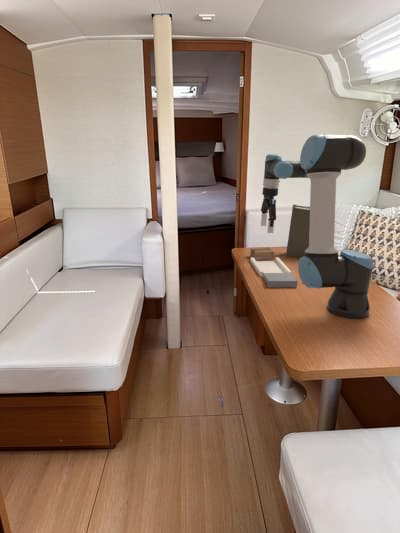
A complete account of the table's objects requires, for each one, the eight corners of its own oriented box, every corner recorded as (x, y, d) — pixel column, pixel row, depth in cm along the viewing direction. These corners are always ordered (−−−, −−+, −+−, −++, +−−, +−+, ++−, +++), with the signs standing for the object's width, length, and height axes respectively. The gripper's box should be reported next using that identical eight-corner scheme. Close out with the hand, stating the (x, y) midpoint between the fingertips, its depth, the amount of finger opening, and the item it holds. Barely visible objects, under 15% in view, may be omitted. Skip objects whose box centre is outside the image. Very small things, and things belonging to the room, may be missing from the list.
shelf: (291, 278, 173) (291, 272, 172) (259, 278, 172) (260, 272, 171) (277, 262, 194) (278, 257, 193) (250, 262, 193) (250, 257, 192)
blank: (272, 262, 195) (273, 251, 193) (254, 263, 193) (255, 252, 191) (267, 257, 202) (268, 247, 200) (249, 258, 201) (250, 247, 199)
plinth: (296, 287, 163) (297, 280, 162) (268, 287, 162) (268, 281, 161) (289, 278, 172) (290, 272, 171) (262, 279, 171) (263, 273, 170)
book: (324, 256, 208) (333, 207, 198) (327, 261, 199) (336, 210, 189) (286, 252, 211) (293, 204, 201) (286, 257, 202) (293, 207, 193)
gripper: (285, 191, 168) (280, 236, 176) (271, 183, 192) (267, 223, 199) (269, 191, 168) (265, 236, 175) (257, 183, 191) (254, 223, 198)
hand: (266, 229), depth 187 cm, fingers open, 13 cm apart
